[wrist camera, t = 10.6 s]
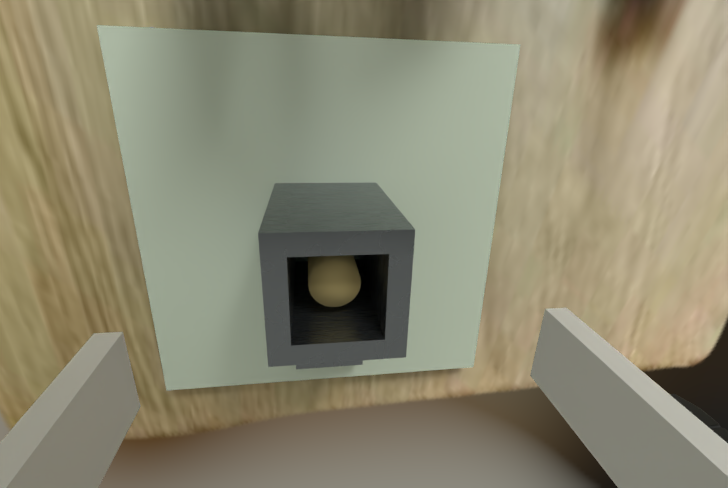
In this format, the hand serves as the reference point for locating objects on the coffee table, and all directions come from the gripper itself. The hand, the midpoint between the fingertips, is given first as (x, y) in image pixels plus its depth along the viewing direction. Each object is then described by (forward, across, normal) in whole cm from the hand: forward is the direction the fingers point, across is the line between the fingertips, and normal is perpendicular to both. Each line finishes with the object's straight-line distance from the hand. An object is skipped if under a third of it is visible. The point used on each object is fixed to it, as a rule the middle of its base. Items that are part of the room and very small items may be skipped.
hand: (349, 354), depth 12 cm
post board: (+14, 0, -1) cm, 14 cm away
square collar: (+13, 0, -3) cm, 13 cm away
